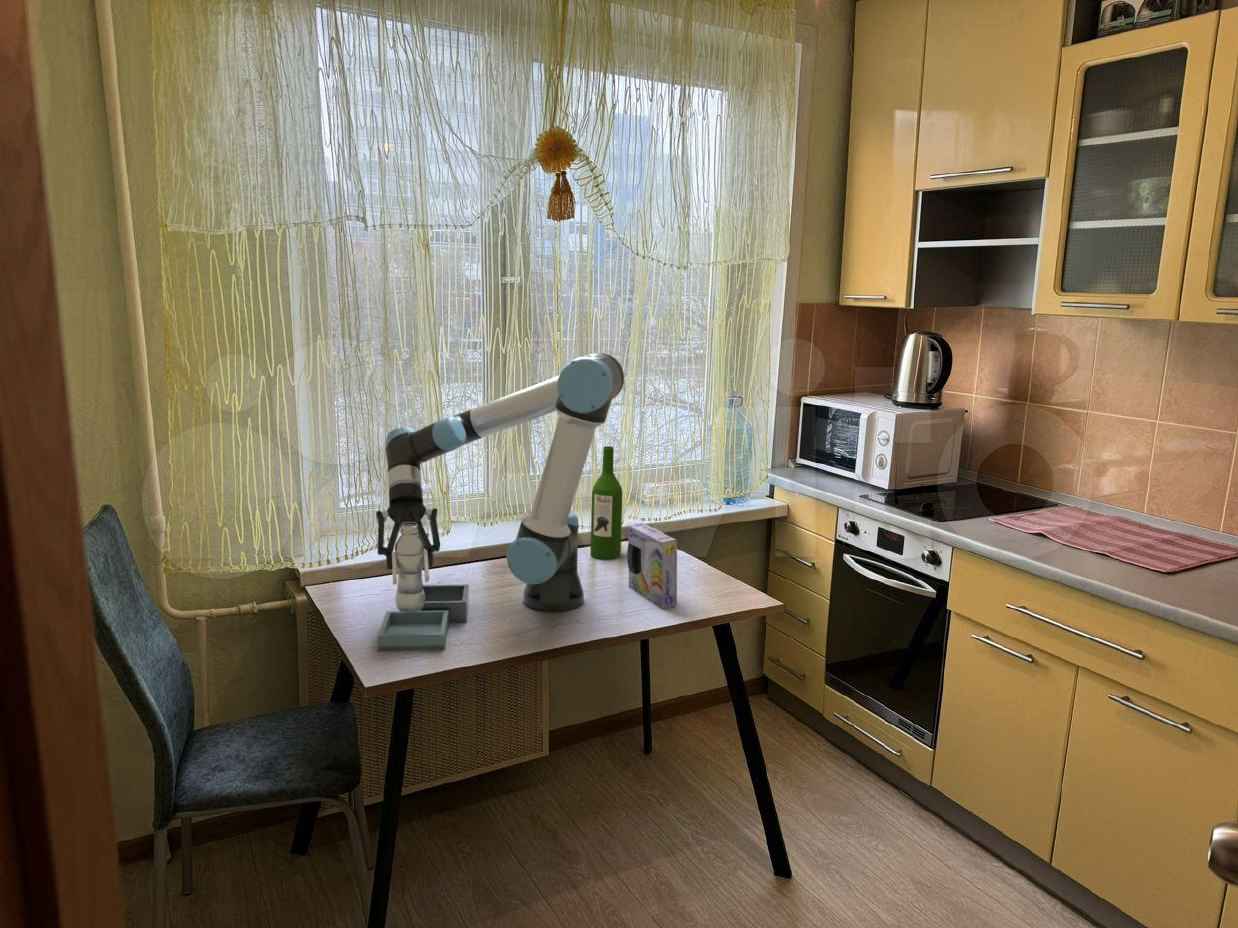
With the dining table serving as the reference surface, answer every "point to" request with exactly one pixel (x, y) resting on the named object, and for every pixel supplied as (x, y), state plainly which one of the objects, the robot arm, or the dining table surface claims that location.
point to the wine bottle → (606, 512)
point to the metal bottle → (409, 569)
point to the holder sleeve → (448, 600)
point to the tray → (413, 630)
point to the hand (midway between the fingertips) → (411, 580)
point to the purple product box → (652, 564)
